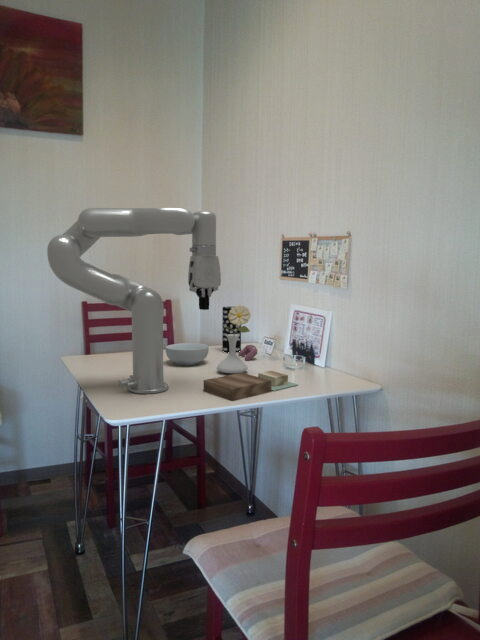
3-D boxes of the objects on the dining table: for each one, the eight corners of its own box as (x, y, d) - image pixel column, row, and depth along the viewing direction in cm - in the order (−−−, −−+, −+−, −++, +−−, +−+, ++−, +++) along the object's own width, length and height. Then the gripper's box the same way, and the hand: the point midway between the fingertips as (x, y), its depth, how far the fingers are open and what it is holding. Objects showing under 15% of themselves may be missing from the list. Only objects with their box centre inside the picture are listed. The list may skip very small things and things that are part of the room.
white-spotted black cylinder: (222, 349, 222) (223, 306, 220) (241, 350, 222) (241, 306, 219) (221, 353, 214) (221, 308, 211) (240, 353, 214) (240, 308, 211)
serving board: (232, 400, 141) (232, 389, 141) (203, 391, 151) (203, 380, 151) (271, 391, 152) (271, 380, 151) (241, 382, 162) (241, 372, 162)
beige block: (288, 375, 159) (287, 383, 160) (271, 370, 165) (271, 379, 166) (275, 377, 155) (274, 386, 156) (258, 373, 161) (258, 381, 162)
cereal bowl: (212, 360, 199) (212, 343, 198) (202, 369, 183) (202, 350, 182) (173, 358, 202) (173, 341, 201) (159, 366, 185) (159, 348, 185)
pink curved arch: (253, 364, 198) (261, 349, 199) (244, 360, 197) (251, 344, 197) (245, 359, 208) (252, 345, 208) (236, 355, 206) (244, 340, 206)
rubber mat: (273, 391, 152) (273, 390, 151) (241, 382, 163) (241, 381, 163) (298, 385, 159) (298, 384, 159) (266, 377, 170) (266, 376, 170)
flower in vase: (211, 373, 175) (211, 304, 172) (226, 367, 185) (226, 302, 182) (243, 377, 169) (243, 306, 166) (257, 371, 179) (258, 304, 176)
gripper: (191, 251, 145) (191, 311, 147) (229, 251, 155) (229, 309, 157) (177, 251, 150) (177, 309, 153) (215, 252, 160) (215, 307, 162)
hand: (204, 309), depth 155 cm, fingers closed
